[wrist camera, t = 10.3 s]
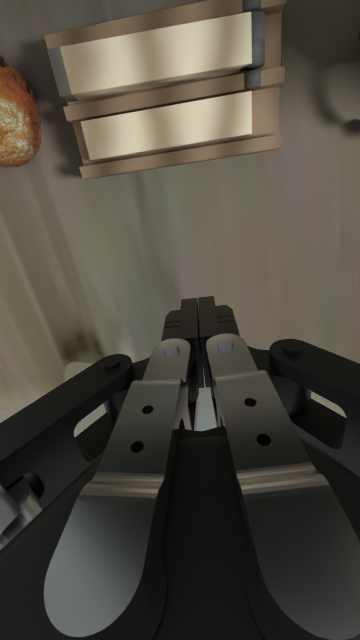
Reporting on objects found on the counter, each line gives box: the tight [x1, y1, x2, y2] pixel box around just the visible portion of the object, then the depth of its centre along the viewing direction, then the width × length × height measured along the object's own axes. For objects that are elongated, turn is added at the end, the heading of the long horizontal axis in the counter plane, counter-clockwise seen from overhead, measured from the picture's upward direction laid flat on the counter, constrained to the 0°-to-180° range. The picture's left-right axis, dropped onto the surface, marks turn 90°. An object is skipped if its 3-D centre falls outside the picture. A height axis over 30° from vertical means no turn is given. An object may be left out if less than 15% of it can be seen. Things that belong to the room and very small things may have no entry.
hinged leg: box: [47, 11, 265, 103], centre depth 26 cm, size 20×3×2 cm, turn 98°
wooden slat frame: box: [44, 0, 287, 179], centre depth 29 cm, size 22×12×5 cm, turn 98°
